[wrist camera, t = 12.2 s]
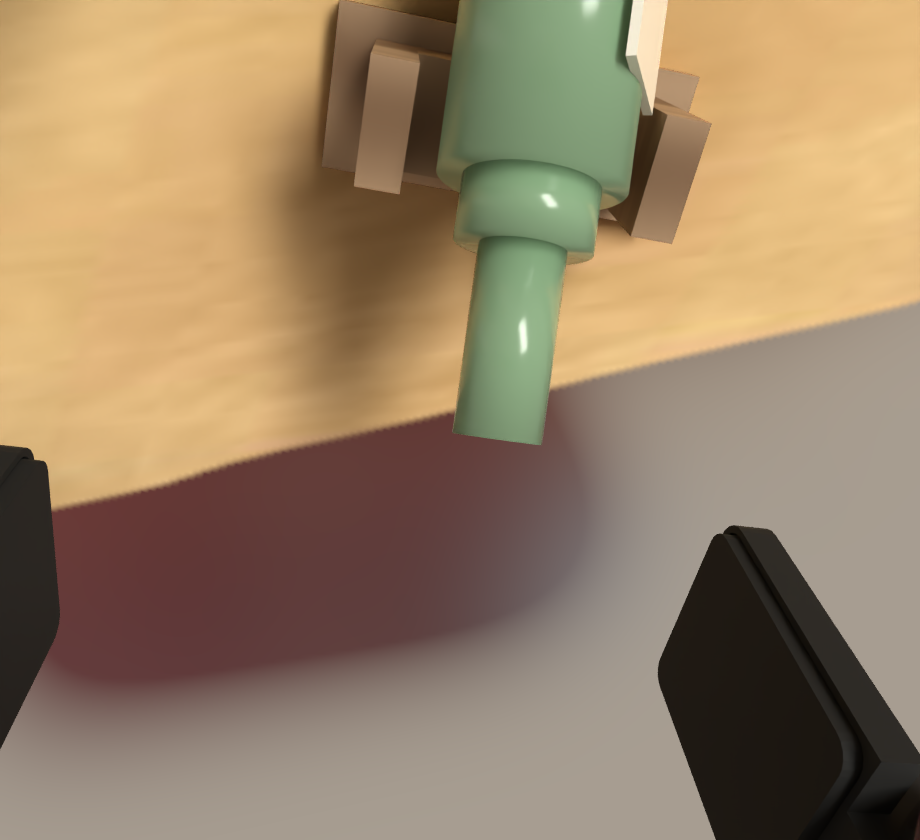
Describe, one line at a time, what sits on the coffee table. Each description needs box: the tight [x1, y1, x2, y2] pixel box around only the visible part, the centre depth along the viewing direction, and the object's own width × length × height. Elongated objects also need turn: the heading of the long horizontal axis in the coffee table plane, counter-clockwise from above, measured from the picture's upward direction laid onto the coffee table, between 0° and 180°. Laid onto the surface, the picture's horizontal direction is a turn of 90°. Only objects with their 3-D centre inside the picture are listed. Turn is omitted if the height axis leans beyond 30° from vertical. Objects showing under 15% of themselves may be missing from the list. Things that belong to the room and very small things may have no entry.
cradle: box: [322, 0, 711, 244], centre depth 29 cm, size 6×14×8 cm, turn 79°
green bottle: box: [436, 0, 668, 445], centre depth 25 cm, size 6×6×21 cm
